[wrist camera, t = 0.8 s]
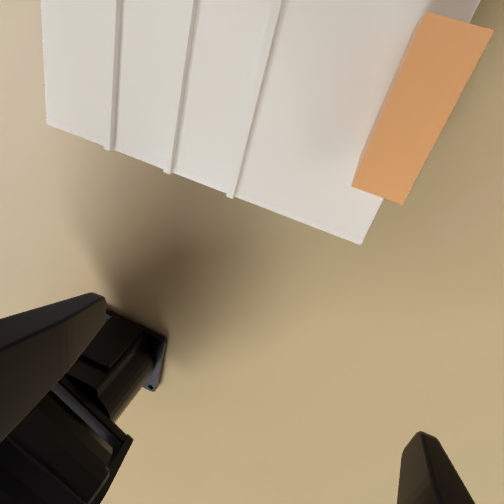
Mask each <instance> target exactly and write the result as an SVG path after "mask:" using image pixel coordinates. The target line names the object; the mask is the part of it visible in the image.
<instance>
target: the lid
mask: <svg viewBox="0 0 504 504" xmlns="http://www.w3.org/2000/svg"><path fill="white" fill-rule="evenodd" d="M480 1H481V0H41V18H42V39H43V60H44V82H45V103H46V124H48V125H50V126H53V127H56V128H58V129H61V130H63V131H66V132H69V133H71V134H74V135H76V136H79V137H82V138H84V139H87V140H89V141H92V142H94V143H97V144H100V145H102V146H104V149H105V150H107V151H112V150H115V151H118V152H120V153H123V154H126V155H128V156H131V157H133V158H136V159H139V160H141V161H144V162H146V163H149V164H151V165H154V166H157V167H159V168H162V169H163V172H164V173H167V174H171V173H175V174H177V175H180V176H183V177H185V178H188V179H190V180H193V181H196V182H198V183H201V184H203V185H206V186H208V187H211V188H214V189H216V190H219V191H221V192H224V193H227V194H226V197H229V198H231V199H233V198H234V197H237V198H240V199H242V200H245V201H247V202H250V203H252V204H255V205H258V206H260V207H263V208H265V209H268V210H271V211H273V212H276V213H278V214H281V215H284V216H286V217H289V218H291V219H294V220H297V221H299V222H302V223H304V224H307V225H309V226H312V227H315V228H317V229H320V230H322V231H325V232H328V233H330V234H333V235H335V236H338V237H341V238H343V239H346V240H348V241H351V242H353V243H356V244H359V245H361V243H362V241H363V239H364V237H365V235H366V233H367V231H368V229H369V227H370V225H371V223H372V221H373V219H374V217H375V215H376V213H377V211H378V209H379V207H380V205H381V203H382V201H383V199H387V200H390V201H393V202H395V203H398V204H401V205H403V203H404V201H405V199H406V198H407V196H408V194H409V192H410V190H411V188H412V186H413V184H414V182H415V180H416V179H417V177H418V175H419V173H420V171H421V169H422V167H423V165H424V163H425V161H426V160H427V158H428V156H429V154H430V152H431V150H432V148H433V146H434V144H435V142H436V141H437V139H438V137H439V135H440V133H441V131H442V129H443V127H444V125H445V123H446V122H447V120H448V118H449V116H450V114H451V112H452V110H453V108H454V106H455V104H456V103H457V101H458V99H459V97H460V95H461V93H462V91H463V89H464V87H465V85H466V84H467V82H468V80H469V78H470V76H471V74H472V72H473V70H474V68H475V66H476V65H477V63H478V61H479V59H480V57H481V55H482V53H483V51H484V49H485V47H486V46H487V44H488V42H489V40H490V38H491V36H492V34H493V32H494V30H492V29H488V28H484V27H481V26H477V25H474V24H470V21H471V19H472V17H473V15H474V13H475V11H476V9H477V7H478V5H479V3H480Z"/></svg>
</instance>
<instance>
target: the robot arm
mask: <svg viewBox="0 0 504 504" xmlns="http://www.w3.org/2000/svg"><path fill="white" fill-rule="evenodd" d="M165 348H166V339H165V338H164V337H163V336H162V335H160V334H158V333H156V332H153V331H151V330H149V329H147V328H145V327H143V326H140V325H138V324H136V323H134V322H132V321H130V320H128V319H125V318H123V317H121V316H119V315H117V314H115V313H113V312H110V311H108V310H106V299H105V298H104V297H103V296H101V295H98V294H96V293H87V294H84V295H80V296H77V297H73V298H70V299H67V300H63V301H60V302H56V303H53V304H50V305H46V306H43V307H39V308H36V309H32V310H29V311H26V312H22V313H19V314H15V315H12V316H9V317H5V318H2V319H0V504H100V503H101V501H102V500H103V498H104V496H105V495H106V493H107V491H108V489H109V487H110V485H111V483H112V481H113V479H114V477H115V476H116V474H117V472H118V470H119V468H120V466H121V464H122V462H123V460H124V458H125V456H126V454H127V452H128V450H129V448H130V446H131V444H132V442H133V438H132V437H131V436H129V435H128V434H127V435H126V434H125V433H124V432H123V431H122V430H121V429H120V428H119V427H118V426H117V425H116V424H115V422H116V421H117V419H118V418H119V417H120V415H121V414H122V413H123V411H124V410H125V409H126V407H127V406H128V405H129V403H130V402H131V401H132V400H133V398H134V397H135V396H136V394H137V393H138V392H139V390H140V389H141V388H142V387H144V388H146V389H148V390H150V391H156V389H157V388H158V386H159V381H160V375H161V370H162V364H163V359H164V353H165ZM397 504H475V502H474V501H473V499H472V497H471V496H470V494H469V492H468V490H467V489H466V487H465V485H464V483H463V482H462V480H461V478H460V477H459V475H458V473H457V471H456V470H455V468H454V466H453V465H452V463H451V461H450V459H449V458H448V456H447V454H446V452H445V451H444V449H443V447H442V446H441V444H440V442H439V441H438V439H437V438H436V437H434V436H432V435H429V434H427V433H425V432H422V431H419V432H417V433H416V434H415V436H414V437H413V438H412V439H411V441H410V442H409V443H408V445H407V446H406V447H405V449H404V451H403V453H402V458H401V468H400V478H399V488H398V498H397Z"/></svg>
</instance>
